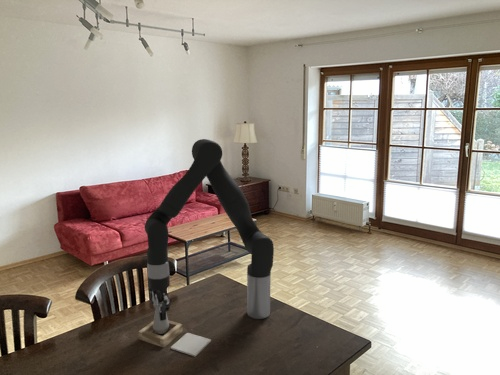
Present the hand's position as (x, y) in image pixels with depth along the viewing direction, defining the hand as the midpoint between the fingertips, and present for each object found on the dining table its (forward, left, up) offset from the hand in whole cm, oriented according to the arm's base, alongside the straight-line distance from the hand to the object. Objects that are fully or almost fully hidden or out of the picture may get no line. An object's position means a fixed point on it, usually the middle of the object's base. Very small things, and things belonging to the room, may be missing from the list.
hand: (160, 318), depth 143 cm
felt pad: (+1, +13, -6) cm, 15 cm away
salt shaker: (0, 0, -5) cm, 5 cm away
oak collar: (+1, 0, -6) cm, 6 cm away
